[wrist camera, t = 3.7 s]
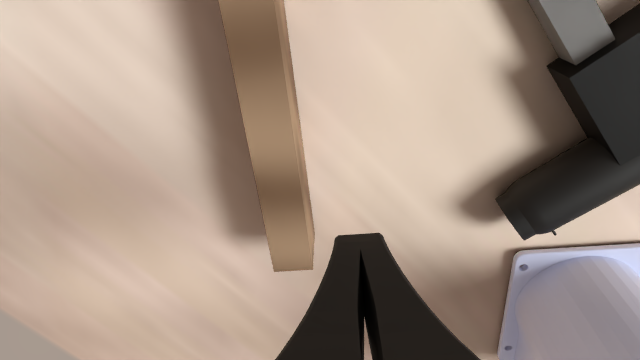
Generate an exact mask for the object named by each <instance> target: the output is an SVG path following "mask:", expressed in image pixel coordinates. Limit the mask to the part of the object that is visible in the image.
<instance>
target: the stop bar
mask: <svg viewBox="0 0 640 360" xmlns="http://www.w3.org/2000/svg"><path fill="white" fill-rule="evenodd" d="M218 1H219V6H220V11H221V16H222V21H223V26H224V31H225V36H226V40H227V45H228V50H229V55H230V60H231V65H232V70H233V74H234V79H235V84H236V89H237V94H238V99H239V104H240V109H241V113H242V118H243V123H244V128H245V133H246V138H247V143H248V147H249V152H250V157H251V162H252V167H253V172H254V177H255V182H256V186H257V191H258V196H259V201H260V206H261V211H262V216H263V220H264V225H265V230H266V235H267V240H268V245H269V250H270V255H271V259H272V264H273V269H274V272H279V271H295V270H312V269H313V255H314V237H315V232H314V224H313V217H312V209H311V202H310V194H309V187H308V179H307V172H306V164H305V157H304V149H303V142H302V134H301V127H300V119H299V112H298V104H297V97H296V89H295V82H294V74H293V67H292V59H291V52H290V44H289V37H288V29H287V22H286V14H285V7H284V0H218Z"/></svg>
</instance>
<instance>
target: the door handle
mask: <svg viewBox="0 0 640 360" xmlns="http://www.w3.org/2000/svg"><path fill="white" fill-rule="evenodd" d="M528 2H529V4H530V6H531V8H532V9H533V11H534V13H535V15H536V17H537V18H538V20H539V22H540V24H541V26H542V27H543V29H544V31H545V33H546V35H547V37H548V38H549V40H550V42H551V44H552V46H553V47H554V49H555V51H556V53H557V55H558V56H559V58H558V59H556V60H555V61H553V62H552V63H551V64H549V65H548V66H547V68H548V69H549V71H550V73H551V75H552V76H553V78H554V80H555V82H556V83H557V85H558V87H559V88H560V90H561V92H562V94H563V95H564V97H565V99H566V101H567V102H568V104H569V106H570V108H571V109H572V111H573V113H574V115H575V116H576V118H577V120H578V122H579V123H580V125H581V127H582V129H583V130H584V132H585V134H586V135H587V137H588V139H586V140H585V141H583V142H581V143H579V144H578V145H576V146H574V147H573V148H571V149H569V150H568V151H566V152H564V153H563V154H561V155H559V156H557V157H556V158H554V159H552V160H551V161H549V162H547V163H546V164H544V165H542V166H541V167H539V168H537V169H536V170H534V171H532V172H530V173H529V174H527V175H525V176H524V177H522V178H520V179H519V180H517V181H515V182H514V183H513V184H512V185H511V186H510V187H509V188H508V190H507V191H506V193H504V194H503V195H501V196H499V197H498V198H496V199H495V200H496V201H497V203H498V205H499V206H500V208H501V209H502V211H503V212H504V214H505V215H506V217H507V219H508V220H509V221H510V223H511V224H512V225H513V227H514V228H515V229H516V231H517V232H518V234H519V235H520V236H521V237H522V239H523V240H526V239H528V238H530V237H532V236H534V235H536V234H544V233H548V232H551V231H552V232H553V234H554V235H556V232H555V231H554V230H555V229H557V228H559V227H560V226H562V225H564V224H566V223H568V222H570V221H572V220H574V219H575V218H577V217H579V216H581V215H583V214H585V213H587V212H589V211H591V210H592V209H594V208H596V207H598V206H600V205H602V204H604V203H606V202H607V201H609V200H611V199H613V198H615V197H617V196H619V195H621V194H622V193H624V192H626V191H628V190H630V189H632V188H634V187H636V186H638V185H639V184H640V4H639V5H637V6H636V7H634V8H633V9H631V10H630V11H628V12H627V13H625V14H624V15H622V16H621V17H619V18H618V19H616V20H615V21H613V22H612V23H610V24H609V25H608V24H607V22H606V20H605V18H604V16H603V14H602V12H601V10H600V8H599V6H598V4H597V2H596V0H528Z"/></svg>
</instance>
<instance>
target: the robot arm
mask: <svg viewBox="0 0 640 360" xmlns="http://www.w3.org/2000/svg"><path fill="white" fill-rule="evenodd" d="M523 264H525V265H523ZM521 265H523V266H521ZM520 266H521V267H520ZM364 317H365V322H366V328H367V333H368V338H369V344H370V349H371V354H372V360H480V359H479V358H478V357H477V356H476V355H475V354H474V353H473V352H471V351H470V350H469V349H468V348H467V347H466V346H465V345H464V344H463V343H462V342H460V341H459V340H458V339H457V338H456V336H455V335H454V334H453V333H452V332H451V331H450V330H449V329H448V328H447V327H446V326H445V325H444V324H443V323H442V322H441V321H440V320H439V319H438V318H437V316H436V315H435V314H434V313H433V312H432V311H431V310H430V308H429V307H428V306H427V305H426V303H425V302H424V301H423V300H422V298H421V297H420V296H419V295H418V293H417V292H416V291H415V289H414V288H413V287H412V285H411V284H410V282H409V281H408V279H407V278H406V276H405V275H404V274H403V272H402V271H401V269H400V267H399V266H398V264H397V263H396V261H395V259H394V258H393V256H392V254H391V252H390V250H389V248H388V246H387V244H386V242H385V240H384V237H383V236H382V235H381V234H380V233H370V234H355V235H339V236H337V237H336V238H335V241H334V247H333V251H332V255H331V258H330V261H329V264H328V267H327V269H326V272H325V274H324V277H323V279H322V282H321V284H320V286H319V288H318V290H317V292H316V294H315V296H314V298H313V301H312V303H311V305H310V307H309V308H308V310H307V312H306V314H305V316H304V317H303V319H302V321H301V323H300V324H299V326H298V327H297V329H296V331H295V332H294V334H293V335H292V337H291V338H290V340H289V341H288V343H287V344H286V345H285V347H284V348H283V350H282V351H281V353H280V354H279V355H278V357H277V358H276V359H275V360H364ZM497 356H498V358H499V360H640V243H635V244H619V245H603V246H586V247H570V248H554V249H538V250H523V251H519V252H517V253H516V254H515V255H514V257H513V263H512V269H511V275H510V281H509V287H508V293H507V299H506V305H505V310H504V316H503V322H502V328H501V334H500V340H499V346H498V352H497Z"/></svg>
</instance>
